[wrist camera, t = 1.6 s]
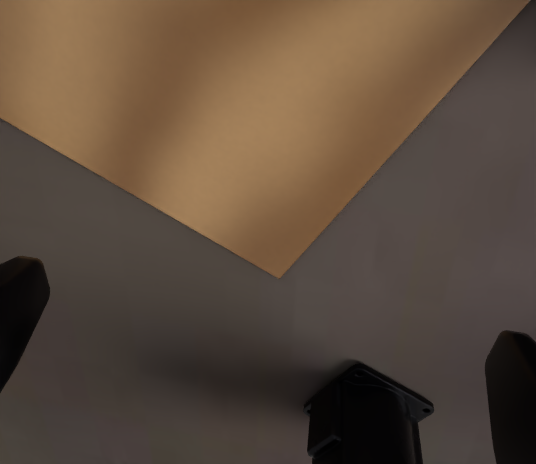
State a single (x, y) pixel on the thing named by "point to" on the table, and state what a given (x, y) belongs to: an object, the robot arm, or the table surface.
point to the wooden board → (237, 100)
